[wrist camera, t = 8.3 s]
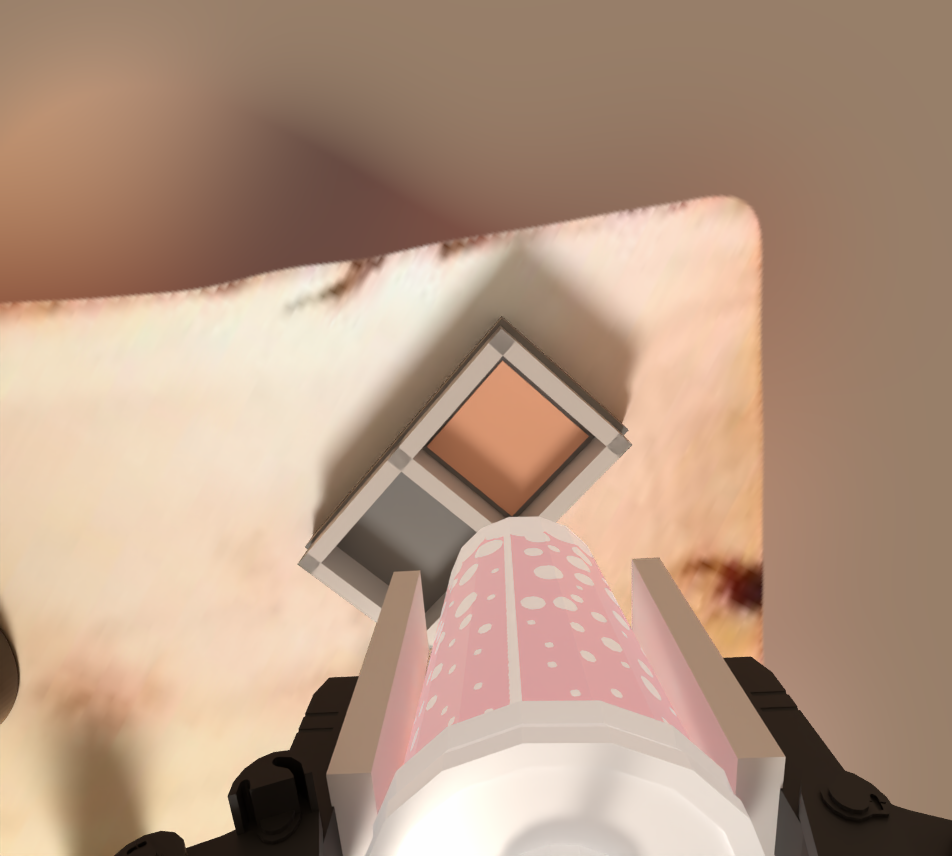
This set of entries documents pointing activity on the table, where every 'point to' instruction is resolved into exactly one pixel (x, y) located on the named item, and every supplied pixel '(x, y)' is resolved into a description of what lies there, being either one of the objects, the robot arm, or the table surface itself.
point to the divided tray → (466, 473)
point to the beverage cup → (549, 722)
